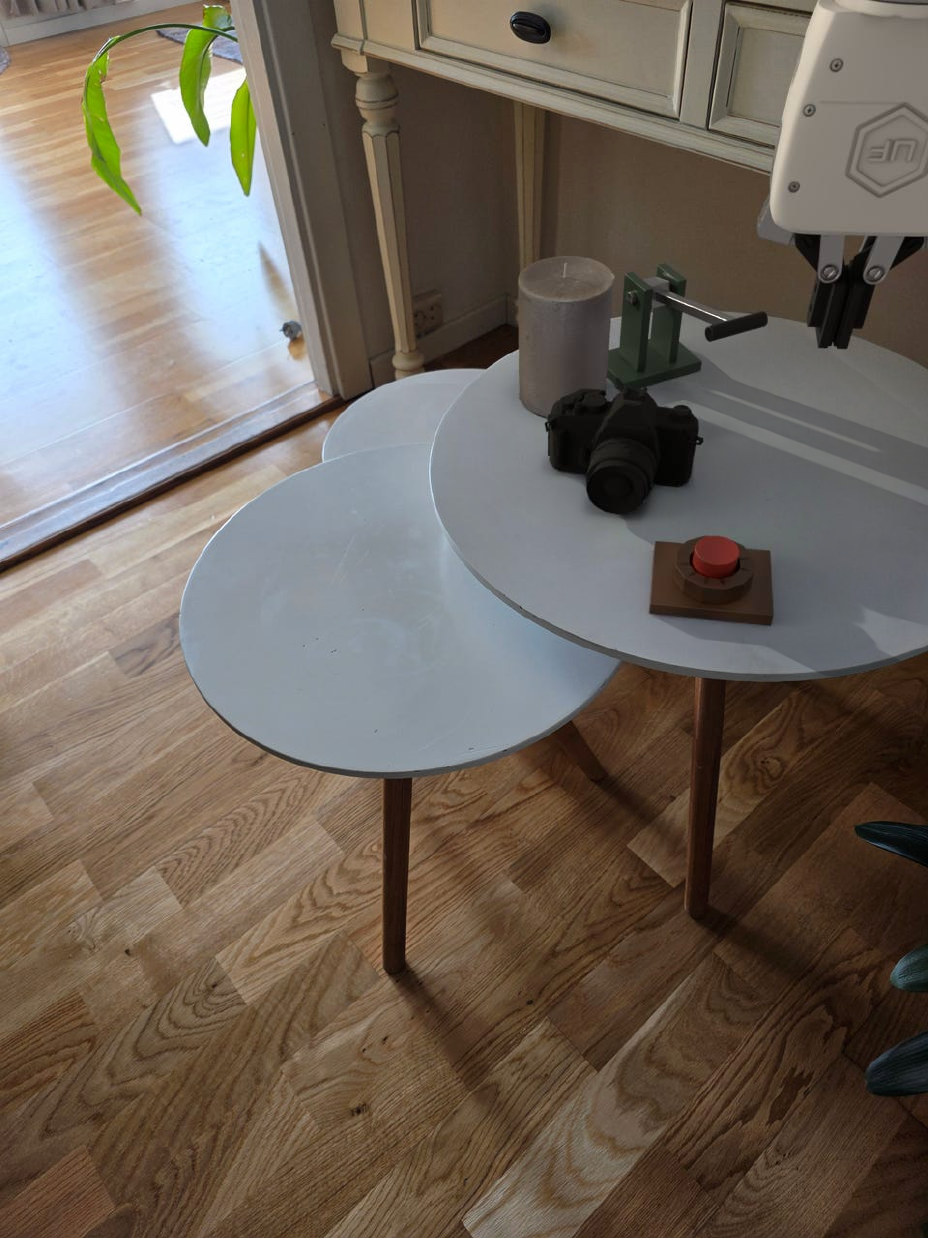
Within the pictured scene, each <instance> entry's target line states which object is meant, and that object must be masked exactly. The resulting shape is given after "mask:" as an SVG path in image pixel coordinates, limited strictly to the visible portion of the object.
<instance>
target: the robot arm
mask: <svg viewBox="0 0 928 1238" xmlns="http://www.w3.org/2000/svg"><path fill="white" fill-rule="evenodd" d="M801 44H802V45H801V47H800V50H799V54H798V57H797V60H796V63H795V67H794V69H793V74H792V77H791V81H790V85H789V89H788V91H787V92H788V93H787V96H786V99H785V104H784V108H783V112H782V117H781V120H780V125H779V129H778V133H777V138H776V143H775V146H774V150H773V156H772V161H771V167H770V175H769V190H768V193H767V196H766V198H765V201H764V203H763V205H762V207H761V210H760V212H759V214H758V216H757V219H756V232H757V236H758V237H759V238H760V239H762V240H766V241H769V242H773V243H776V244H780V245H784V246H787V247H788V246H790V247H791V246H792V247H794V248H796V249H797V250H798V252H799V253H800V254H801V256H803V258H804V259H805V260H806V261H807V263H808V264H809V265H810V267H812V269H813V270H814V271H815V273H816V275H815V279H814V283H813V288H812V291H811V296H810V301H809V304H808V309H807V314H806V325H807V328H814V330H815V336H816V337H815V338H816V345H817V349H829V347H832V346H833V347H835V348H836V349H837V350H848V347H849V344H850V341H851V338H852V334H853V330H862V329H863V328H864V325H865V322H866V318H867V316H868V312H869V310H870V309H869V308H870V305H871V301H872V298H873V295H874V291H875V288H876V285H878V284H880V283H882V282H883V281H884V280H885V279H886V277H887V276H888V273H889V271H891V270H893V269H894V268H895V267H897V266H898V265H900V264H901V263H902V262H904V261H905V260H907V259H908V258H910V257H911V256H913V255H914V254H916V253H917V252H919V251H920V250H923V249H927V250H928V0H817V2H816V5H815V7H814V9H813V12H812V15H811V18H810V20H809V23H808V26H807V28H806V31H805V35H804V38H803V40H802V43H801ZM846 236H859V237H860V236H862V237H864V238H863V239H862V243H861V245H860V247H859V250H858V253H857V254H856V255H854V256H853V258H852V259H849V262H848V264H846V263H845V258H844V251H845V240H846V239H845V238H846Z"/></svg>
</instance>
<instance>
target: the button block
mask: <svg viewBox="0 0 928 1238" xmlns="http://www.w3.org/2000/svg"><path fill="white" fill-rule="evenodd" d="M707 536H708V535H706V534H705V535H701V536H699V537H695V538H691V539H688V540H686V541H685V542H674V541H664V540H663V541H662V540H655V541H654V546H653V547H654V549H653V557H652V570H651V571H652V572H651V582H650V583H651V585H650V594H649V595H650V597H649V609H648V613H649V614H651V615H659V616H660V615H661V616H672V617H682V618H691V619H701V620H712V621H722V622H730V623H731V622H732V623H743V624H752V625H760V626H761V625H762V626H772V623H773V619H774V616H775V615H774V595H773V594H774V593H773V578H772V575H773V574H772V558H771V557H772V556H771V550H769V549H759V548H758V549H757V548H747V547H746V546H745V545H743V544H742V543H739V542H737V541H735V540H733V539H731V540H732V541H733V542H734V543H735V544H736V545H737V546H738V549H739V557H738V561H737V565H736V569H735V571H734V573H733V574H732V575H730V576H729V577H727V578H723V579H714V578H707V577H705V576H703V575H701V574H699V573H698V572H697V571H696V570H695V569H694V567H693V556H694V551H695V546H696V544H697V542H698V541H699V540H700V539H702V538H704V537H707Z"/></svg>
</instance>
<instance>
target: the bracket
mask: <svg viewBox="0 0 928 1238" xmlns="http://www.w3.org/2000/svg"><path fill="white" fill-rule="evenodd" d="M656 277H659V278H662V279H664V280H667V281H669V291H670V292H672V293H675V294H677V295H680V296H682V297H685V296H686V290H687V289H686V288H687V278H685V277H684V276H683V275H682V274H681V273H679V272H678V271H676V270H675V269H674V268H672V266H670V265H669V264H667V263H666V262H664V263H661V264H657V266H656ZM623 278H624V279H623V293H622V305H621V306H622V307H621V319H620V320H621V321H620V333H619V347H615V348H612V349H609V352H608V366H607V379H609V381H611V383H613V385H614V386H615V387H616V388H617V389H618V390H619V391H620V393H621V392H622V391H623V389H624V386H625V385H628V387H632V388H641V389H642V388H643V387H648V386H650V385H651V386H652V385H655V384H657V383H661V382H664V381H668V380H672V379H675V378H678V377H682V376H685V375H689V374H693V373H696V372H700V371H701V370H702V363H703V361H702V359H700V358H699V357H698V356H697V355H696V354H694V353H693V352H692V351H691V350H690V349H689V348H688V347H687V346H685V345H684V344H683V343H682V342H681V341H680V337H681V327H682V320H683V314H684V313H683V312H681V311H679V310H676V309H674V308H672V307H669V306H667V305H665V306H661V307H657V308H653V309H651V305H652V295H653V288H652V287H651V286H649V285H648V284H647V283H646V282H645V281H643V280H644V279H642V278H641V277H640V276H639V275H637V274H636V273H635V272H634V271H630V272H629V271H628V272H626V273H624V277H623ZM685 298H686V297H685ZM651 314H652V316H651ZM650 325H651V327H650ZM649 333H650V337H649Z"/></svg>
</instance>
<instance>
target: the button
mask: <svg viewBox="0 0 928 1238" xmlns="http://www.w3.org/2000/svg"><path fill="white" fill-rule="evenodd" d="M706 536H707V537H704V538H702V539H700V540H699V541H698V542H697V544H696V546H695V551H694V556H693V567H694V569H695V570H696V571H697V572H698V573H699V574H701V575H703V576H705V577H707V578H714V579H723V578H727V577H729V576H730V575H732V574H733V573H734V571H735V569H736V565H737V561H738V557H739V549H738V546H737V545H736V544H735V543H734V542H733V541H734V540H733V539H731V538H728V537H726V536H721V535H706ZM732 540H733V541H732Z"/></svg>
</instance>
